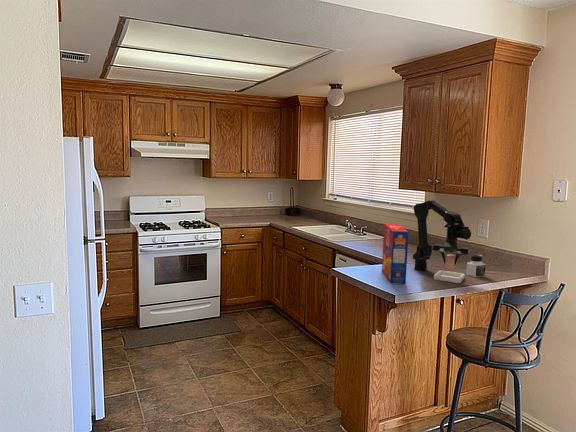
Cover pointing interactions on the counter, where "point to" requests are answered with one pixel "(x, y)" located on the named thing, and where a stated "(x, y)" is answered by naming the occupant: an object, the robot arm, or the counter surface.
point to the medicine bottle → (476, 266)
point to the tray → (449, 276)
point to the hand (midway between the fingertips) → (450, 264)
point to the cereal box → (395, 253)
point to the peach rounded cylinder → (450, 261)
